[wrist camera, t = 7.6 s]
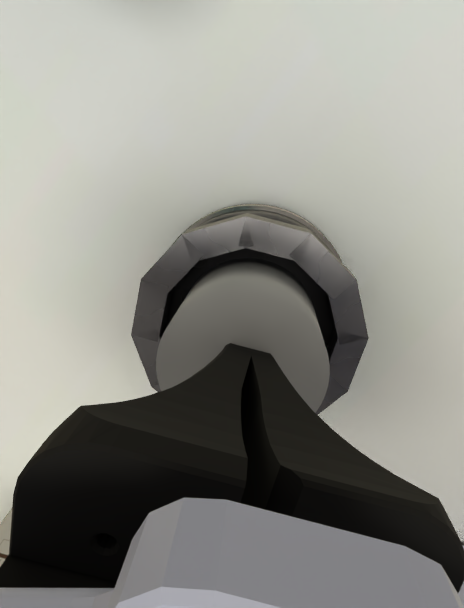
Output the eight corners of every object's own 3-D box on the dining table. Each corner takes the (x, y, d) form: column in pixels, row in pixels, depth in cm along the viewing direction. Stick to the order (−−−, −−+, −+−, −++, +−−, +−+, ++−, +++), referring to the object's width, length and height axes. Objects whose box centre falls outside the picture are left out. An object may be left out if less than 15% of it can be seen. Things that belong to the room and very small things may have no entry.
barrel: (311, 392, 21) (324, 459, 16) (149, 350, 21) (115, 405, 16) (370, 229, 18) (407, 253, 13) (182, 180, 18) (152, 187, 13)
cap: (292, 394, 16) (299, 463, 13) (171, 362, 16) (142, 421, 13) (333, 278, 15) (355, 317, 11) (199, 241, 15) (174, 268, 11)
